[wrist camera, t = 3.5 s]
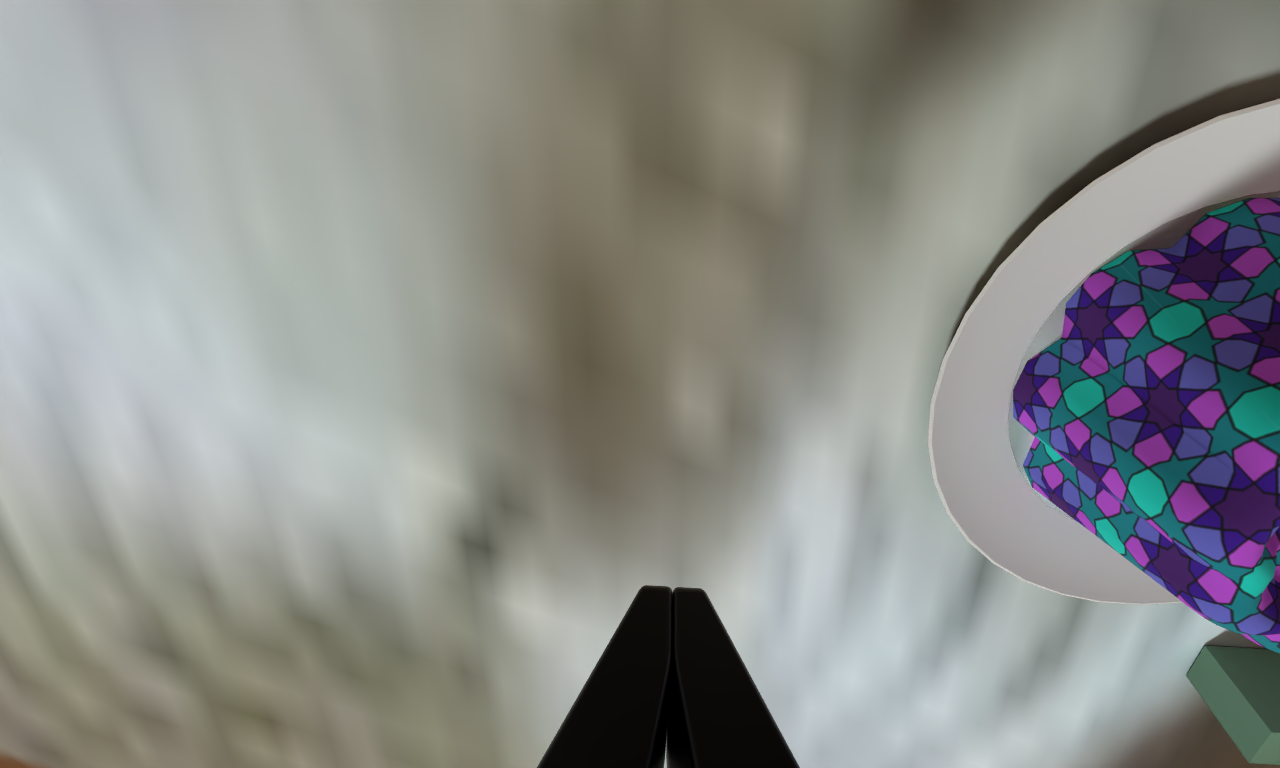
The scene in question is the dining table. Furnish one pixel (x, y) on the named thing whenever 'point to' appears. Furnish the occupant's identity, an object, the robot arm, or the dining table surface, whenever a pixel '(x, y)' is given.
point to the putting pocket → (1243, 697)
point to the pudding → (1134, 389)
